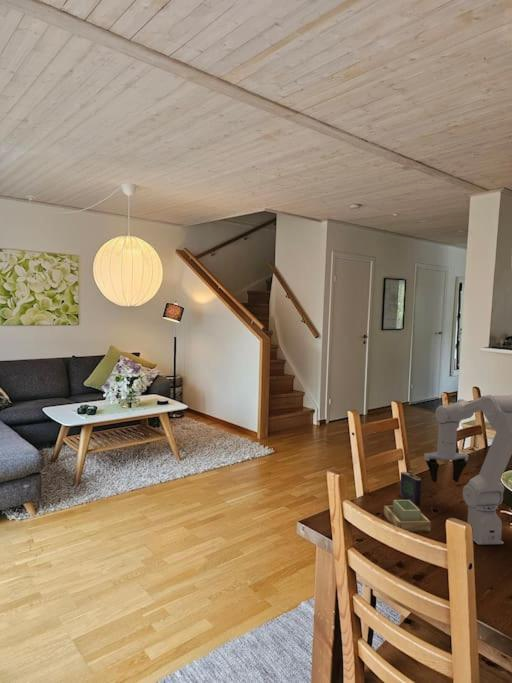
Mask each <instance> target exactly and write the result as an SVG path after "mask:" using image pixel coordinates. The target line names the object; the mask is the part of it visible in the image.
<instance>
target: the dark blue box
mask: <svg viewBox="0 0 512 683" xmlns="http://www.w3.org/2000/svg"><path fill="white" fill-rule="evenodd" d="M414 472H415V470H408V472H407V471H401V472H400V483H399V484H400V485H399V486H400V487H399V497H400V498H402V499H403V500H410V501H411V502H412V503H413V504H414V505H415V506H421V505H422V504H421V499H422V498H421V497H422V495H421V493H422V479H421V478H419V476H416V474H415V473H414Z"/></svg>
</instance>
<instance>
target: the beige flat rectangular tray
mask: <svg viewBox="0 0 512 683" xmlns="http://www.w3.org/2000/svg"><path fill="white" fill-rule="evenodd" d="M383 516H384V517H385V518H386V519H387V521H388V522H390V524H391V525H392V524H394V525H396V526H399V527H401V528H403V529H406V530H408V531H411V532H410V533H430V532H431V529H432V521H431V520H429V519H428V518H427V517H426V515H424V513H422V512H421V513H420V521H400V520H399V519H398V518H397V517H396V516H395V515H394V513H393V505H383Z"/></svg>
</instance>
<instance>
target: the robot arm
mask: <svg viewBox="0 0 512 683" xmlns="http://www.w3.org/2000/svg"><path fill="white" fill-rule="evenodd" d="M478 412H482V413H483V414H484V415H483V416H485V418H486V420H487V422H488V424H489V425H490V427H491V429H493V430H495V431H496V432H495V435H494V436H493V439H492V442H491V444H490V447H489V448H488V452H487V454H486V456H485V459H484V461H483V464H482V466H481V468H480V471H479V474H477V475H475V476H474V477H472V478H471V479H469V481H468V483H467V484H465V485H464V486H463V489H462V498H463V501H464V502H465V504H466V505H467V506H468V509H467V522H468V523H470V524H471V525H472V528H473V540H472V541H473V542H475V543H476V544H477V545H503V544H504V541H503V540H502V534H503V533H502V530H503V522H502V520H501V518H500V517H499V516H498V514H497V511H496V510H497V509H499V505H501V504H503V500H504V491H505V486H504V485H503V483H502V482H501V479H502V477H503V475H504V473H505V470H506V468H507V466H508V464H509V461H510V458H511V457H512V394H511V395H492V394H488V395H482V396H481V397H478V398H475V399H474V400H471V401H468V400H464V399H463V398H462V399H461V398H459V399H457V402H450V403H449V402H448V405H438V406H437V407H436V409H435V412H434V413H435V414H434V415H435V418H436V420H437V422H438V431H437V433H438V434H437V451H434V452H428V453H426V452H425V453H423V454H424V455H423V459H424V460H425V462H426V464H427V466H428V469H429V470H428V471H429V472H430V473H429V474H430V478H431V481H432V482H433V483H437V481H438V470H439V466H440V463H439V462H438V461H452V480H453V481H454V482H456V483H458V482H459V479H460V478H461V474H462V472H463V470H464V469H465V468H466V467H467V464H468V462H467V461H469V455H468V453H464V452H463V453H462V452H456V451H457V435H458V434H457V433H458V429H459V427H460V423H461V421H463V420H467V419H471V418H472V417H473V416H474V414H475V413H478Z"/></svg>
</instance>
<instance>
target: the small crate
mask: <svg viewBox="0 0 512 683" xmlns="http://www.w3.org/2000/svg"><path fill="white" fill-rule="evenodd" d="M392 506H393V513H394V515H395V516H396V517H397V518H398V519H399V520H400V521H420V513H422V512H421V509H420V508H419V507H418V506H417V505H414V504H413V503H412V502H411V501H410V500H405V499H393V500H392Z"/></svg>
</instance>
